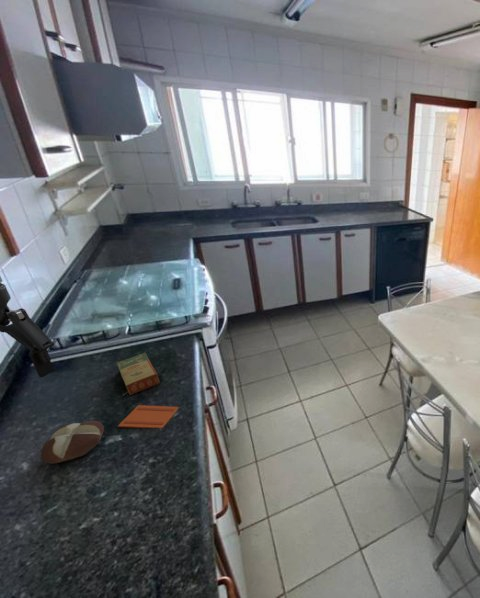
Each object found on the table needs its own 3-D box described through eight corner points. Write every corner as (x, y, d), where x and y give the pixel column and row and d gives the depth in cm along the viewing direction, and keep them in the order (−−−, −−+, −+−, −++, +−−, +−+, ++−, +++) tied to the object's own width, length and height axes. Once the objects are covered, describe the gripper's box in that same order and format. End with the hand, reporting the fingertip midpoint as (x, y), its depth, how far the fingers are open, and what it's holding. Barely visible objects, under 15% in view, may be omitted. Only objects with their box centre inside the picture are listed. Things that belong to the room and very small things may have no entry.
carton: (129, 396, 100) (124, 385, 99) (119, 372, 110) (114, 361, 108) (161, 383, 106) (157, 372, 104) (149, 361, 116) (145, 351, 114)
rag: (118, 427, 90) (117, 425, 90) (138, 406, 97) (138, 404, 97) (162, 428, 91) (162, 427, 90) (180, 407, 98) (179, 406, 98)
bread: (34, 468, 78) (24, 454, 75) (67, 430, 88) (59, 417, 85) (89, 461, 80) (81, 446, 78) (115, 424, 90) (108, 411, 88)
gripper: (53, 285, 71) (85, 366, 80) (-58, 275, 71) (-14, 356, 80) (14, 300, 64) (54, 386, 73) (-109, 288, 64) (-55, 376, 73)
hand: (18, 371), depth 76 cm, fingers open, 13 cm apart
